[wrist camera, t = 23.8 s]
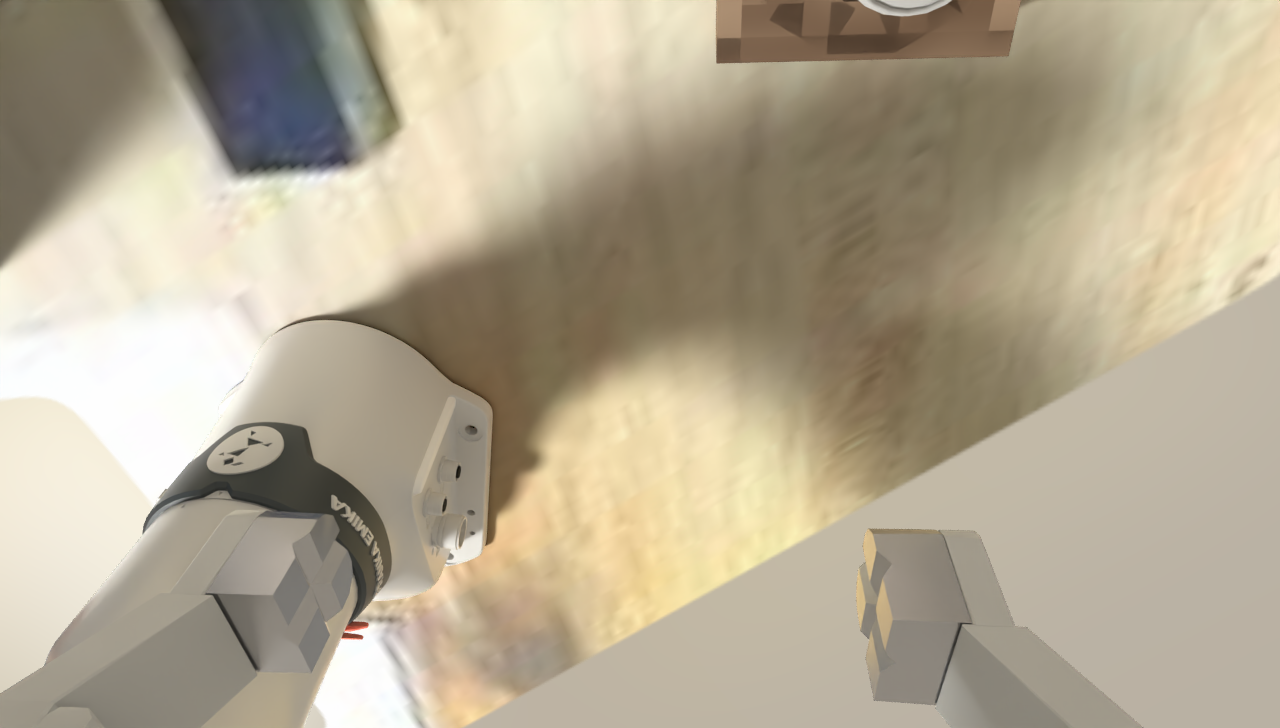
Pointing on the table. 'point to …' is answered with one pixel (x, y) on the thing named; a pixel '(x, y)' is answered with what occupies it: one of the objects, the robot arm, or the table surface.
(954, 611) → the robot arm
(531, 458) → the table surface
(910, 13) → the beverage can
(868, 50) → the socket block
